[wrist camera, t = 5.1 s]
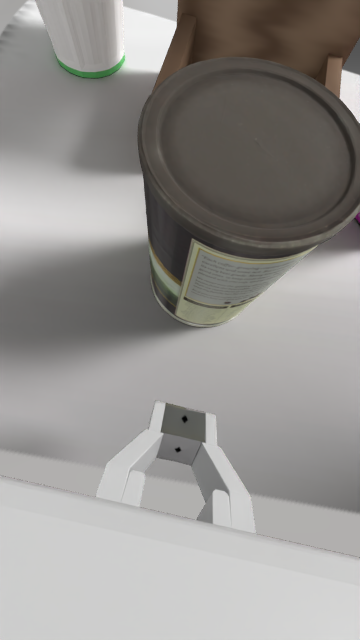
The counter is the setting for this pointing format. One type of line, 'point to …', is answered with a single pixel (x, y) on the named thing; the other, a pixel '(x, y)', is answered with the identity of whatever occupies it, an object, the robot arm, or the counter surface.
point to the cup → (85, 34)
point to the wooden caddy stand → (267, 35)
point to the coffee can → (241, 181)
